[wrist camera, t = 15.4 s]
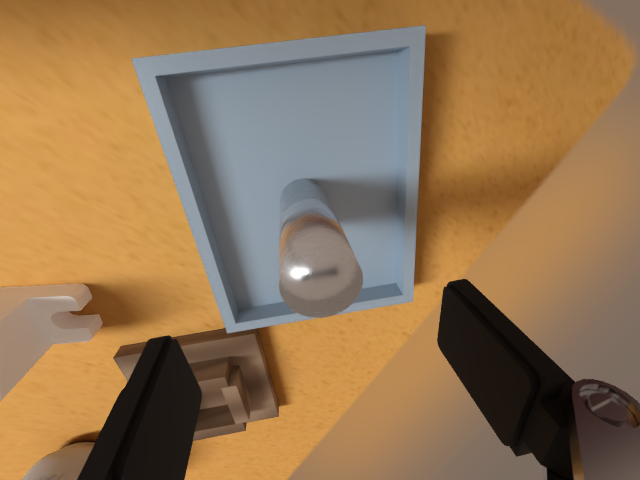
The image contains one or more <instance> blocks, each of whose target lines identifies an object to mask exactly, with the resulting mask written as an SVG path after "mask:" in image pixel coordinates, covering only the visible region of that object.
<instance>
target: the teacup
mask: <svg viewBox="0 0 640 480" xmlns="http://www.w3.org/2000/svg"><path fill="white" fill-rule="evenodd" d="M94 444H95V442H80V443H75V444H71V445H68V446H66V447H63V448H61V449H60V450H57V451H55V452H53V453H50V454H48V455H47V456H45V457H44V458H42V459H41V460H39V461H38V462H37V463H36V464H35V465H34V466H33V467H32V468H31V469H30V470H29V471H28V472H27V474H26V475H25V476H24V478H23V479H22V480H77V479H78V476H79V474H80V472H81V470H82V468H83V466H84V464H85V462H86V460H87V458H88V456H89V454H90V452H91V450H92V448H93V446H94Z"/></svg>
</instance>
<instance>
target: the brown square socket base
mask: <svg viewBox="0 0 640 480" xmlns="http://www.w3.org/2000/svg"><path fill="white" fill-rule="evenodd" d="M172 339H177V341H178V342H179V344H180V346H181V349H182V351H183V353H184V355H185V357H186V359H187V361H188V363H189V365H190V367H191V369H192V371H193V373H194V376H195V378H196V380H197V382H198V384H199V386H200V388H201V391H202V401H201V405H200V410H199V415H198V419H197V424H196V428H195V433H194V437H193V441H195V440H200V439H205V438H210V437H215V436H221V435H226V434H231V433H236V432H241V431H246V423H247V422H253V421H258V420H263V419H268V418H273V417H279V404H278V401H277V397H276V394H275V390H274V387H273V383H272V380H271V376H270V372H269V369H268V365H267V362H266V358H265V355H264V351H263V348H262V344H261V341H260V337H259V334H258V330H257V328H256V329H250V330H244V331H238V332H233V333H227V331H226V329H220V330H214V331H208V332H202V333H196V334H191V335H185V336H179V337H173V338H172ZM146 343H147V342H144V343H138V344H132V345H126V346H121V347H120V348H119V350H118V351H117V353H116V355H115V356H114V358H113V359H114V360H115V362H116V363H117V365H118V367H119V368H120V370H121V371H122V373H123V374H124V376H125V378H126V379H127V381H128V380H129V378H130V376H131V374H132V372H133V370H134V368H135V366H136V364H137V362H138V360H139V358H140V356H141V354H142V352H143V350H144V347H145V345H146Z"/></svg>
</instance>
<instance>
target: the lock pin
mask: <svg viewBox="0 0 640 480" xmlns="http://www.w3.org/2000/svg"><path fill="white" fill-rule="evenodd" d="M362 285H363V273H362V270H361V268H360V265H359V263H358V261H357V259H356V257H355V255H354V252H353V250H352V248H351V246H350V244H349V242H348V240H347V237H346V235H345V233H344V231H343V229H342V227H341V225H340V222H339V220H338V218H337V216H336V214H335V212H334V210H333V207H332V205H331V203H330V201H329V199H328V197H327V194H326V192H325V190H324V189H323V187H322V186H321V185H320V184H319V183H317V182H316V181H314V180H311V179H304V178H303V179H297V180H294V181H292V182H290V183H289V184H288V185H287V186H286V187H285V188H284V189H283V191H282V193H281V196H280V235H279V291H280V295H281V297H282V299H283V301H284V302H285V304H286V305H287V306H288V307H289V308H290V309H291V310H293V311H294V312H296V313H298V314H300V315H303V316H307V317H314V318H322V317H328V316H332V315H335V314H338V313H340V312H342V311H343V310H345V309H346V308H348V307H349V306H350V305H351V304H352V303H353V302H354V301H355V300H356V299H357V297H358V296H359V294H360V292H361V289H362Z"/></svg>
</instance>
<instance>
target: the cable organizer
mask: <svg viewBox="0 0 640 480" xmlns="http://www.w3.org/2000/svg"><path fill="white" fill-rule="evenodd" d="M91 299H92V295H91V293H90V290H89V288H88V287H87V286H86V285H84V284H59V285H38V286H17V287H0V401H1V400H2V399H3V398H4V397H5V396H6V395H7V394H8V393H9V392H10V390H11V389H12V388H13V387H14V386H15V385H16V384H17V383H18V382H19V381H20V380H21V379H22V377H23V376H24V375H25V374H26V373H27V372H28V371H29V370H30V369H31V368H32V367H33V365H34V364H35V363H36V362H37V361H38V360H39V359H40V358H41V357H42V356H43V355H44V354H45V352H46V351H47V350H48V349H49V348H50V347H51V346H52V345H53V344H62V343H76V342H88V341H90V340H91V339H92V338H93V337H94V335H95V334H96V333H97V331H98V330H99V329H100V328H101V326H102V325H103V322H102V320H101V317H100V315H99V314H95V315H74V314H72V313H70V312H68V311H81V310H82V309H83V307H84V306H85V305H86V304H87V303H88V302H89V301H90V300H91Z"/></svg>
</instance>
